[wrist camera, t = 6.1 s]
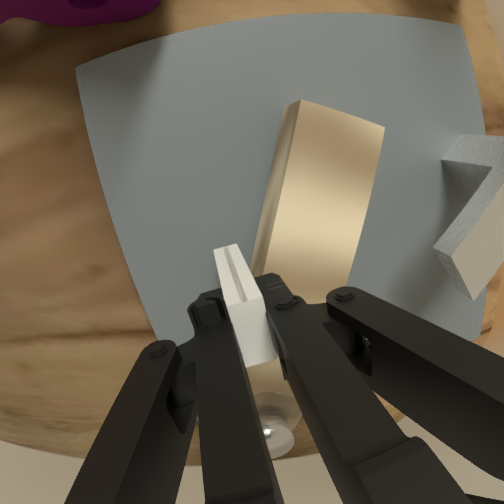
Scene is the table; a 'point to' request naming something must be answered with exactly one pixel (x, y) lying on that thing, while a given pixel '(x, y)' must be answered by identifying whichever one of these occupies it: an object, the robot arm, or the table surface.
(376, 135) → the brass bar
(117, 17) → the mounting bracket
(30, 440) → the table surface
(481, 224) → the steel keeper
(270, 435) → the cylinder
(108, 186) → the slate board
